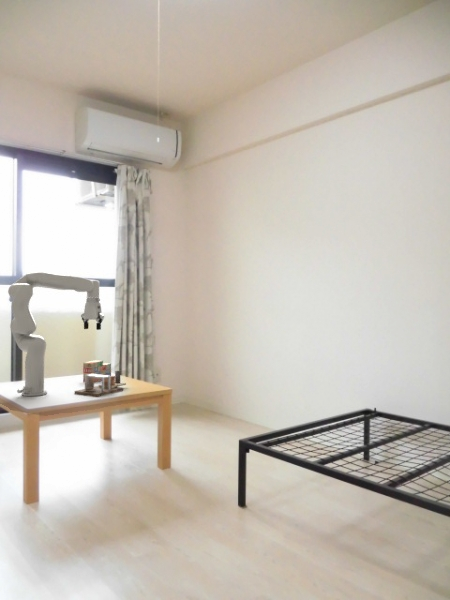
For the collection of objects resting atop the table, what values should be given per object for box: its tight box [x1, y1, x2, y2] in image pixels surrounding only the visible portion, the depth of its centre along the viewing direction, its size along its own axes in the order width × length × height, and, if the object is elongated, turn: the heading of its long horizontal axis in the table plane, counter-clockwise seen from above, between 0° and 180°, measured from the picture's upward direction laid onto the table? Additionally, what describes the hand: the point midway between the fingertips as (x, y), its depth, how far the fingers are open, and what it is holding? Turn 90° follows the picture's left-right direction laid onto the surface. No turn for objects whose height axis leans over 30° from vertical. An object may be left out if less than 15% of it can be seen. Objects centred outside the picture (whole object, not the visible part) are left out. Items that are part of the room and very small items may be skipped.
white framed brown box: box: [98, 370, 127, 388], centre depth 272 cm, size 13×9×8 cm
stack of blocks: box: [82, 359, 112, 383], centre depth 301 cm, size 21×6×12 cm, turn 160°
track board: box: [74, 385, 124, 398], centre depth 262 cm, size 21×16×2 cm
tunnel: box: [84, 374, 112, 392], centre depth 260 cm, size 6×13×8 cm, turn 63°
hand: (92, 329), depth 282 cm, fingers open, 9 cm apart
